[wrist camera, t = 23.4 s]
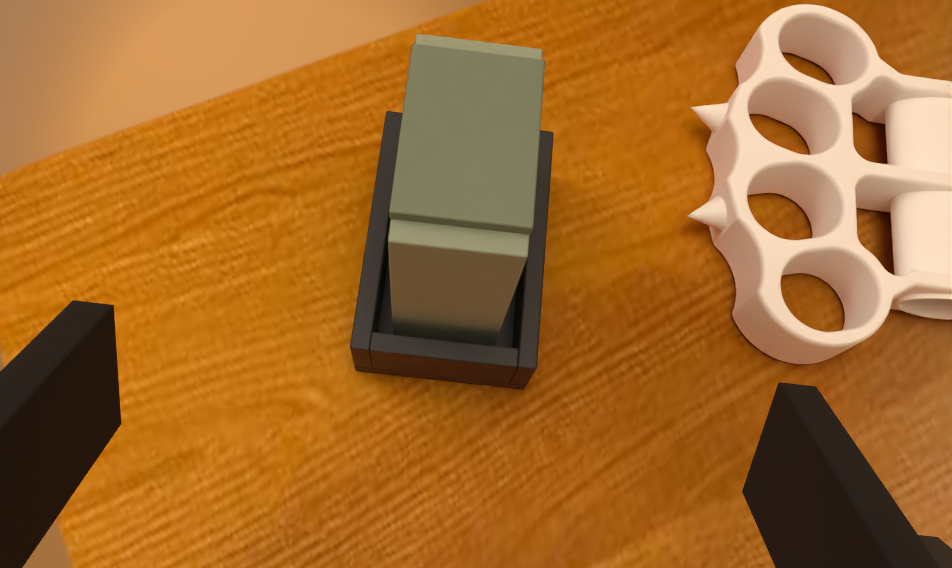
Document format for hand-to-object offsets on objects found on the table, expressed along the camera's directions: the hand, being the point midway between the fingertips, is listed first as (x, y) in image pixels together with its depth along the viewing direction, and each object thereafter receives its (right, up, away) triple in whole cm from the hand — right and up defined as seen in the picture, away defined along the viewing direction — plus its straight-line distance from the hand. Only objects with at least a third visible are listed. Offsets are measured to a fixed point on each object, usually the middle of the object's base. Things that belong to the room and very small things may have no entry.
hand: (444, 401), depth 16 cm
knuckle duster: (+18, +7, +25) cm, 32 cm away
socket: (0, +3, +22) cm, 22 cm away
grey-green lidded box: (-1, +4, +21) cm, 22 cm away
